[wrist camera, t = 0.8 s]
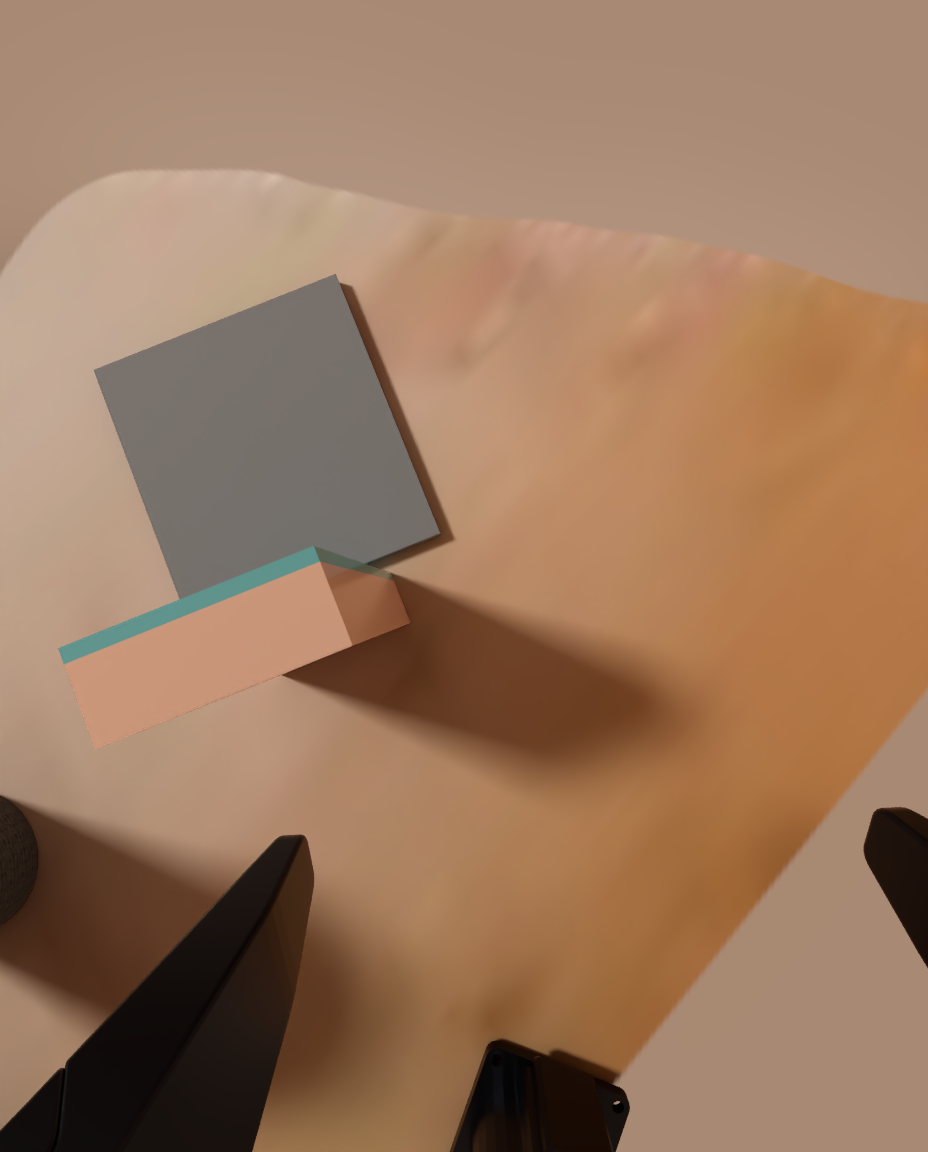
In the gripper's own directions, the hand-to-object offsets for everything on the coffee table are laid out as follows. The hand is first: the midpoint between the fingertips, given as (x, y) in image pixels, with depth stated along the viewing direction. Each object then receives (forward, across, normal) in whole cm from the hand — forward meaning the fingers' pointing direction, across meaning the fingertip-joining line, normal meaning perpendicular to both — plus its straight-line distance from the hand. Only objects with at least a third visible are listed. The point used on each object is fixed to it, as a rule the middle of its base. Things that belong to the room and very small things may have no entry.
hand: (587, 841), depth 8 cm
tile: (+16, +8, +3) cm, 18 cm away
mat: (+19, +11, -4) cm, 22 cm away
